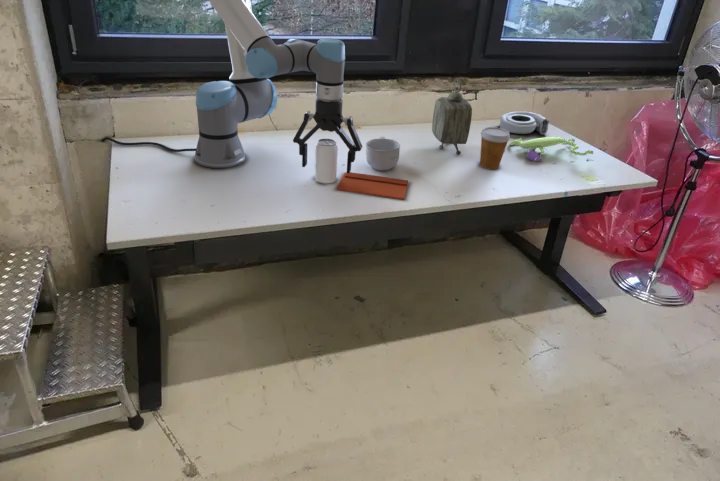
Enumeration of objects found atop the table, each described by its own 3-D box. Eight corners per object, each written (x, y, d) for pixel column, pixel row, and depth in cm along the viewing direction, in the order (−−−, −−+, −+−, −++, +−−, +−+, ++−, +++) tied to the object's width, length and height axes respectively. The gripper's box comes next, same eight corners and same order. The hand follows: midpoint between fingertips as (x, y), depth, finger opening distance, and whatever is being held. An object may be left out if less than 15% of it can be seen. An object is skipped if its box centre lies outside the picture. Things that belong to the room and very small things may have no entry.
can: (320, 185, 159) (321, 147, 153) (311, 176, 164) (312, 139, 158) (339, 182, 162) (341, 144, 156) (330, 173, 167) (332, 137, 161)
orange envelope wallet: (336, 190, 157) (336, 187, 157) (344, 174, 168) (344, 171, 167) (403, 199, 155) (404, 196, 154) (408, 182, 165) (408, 180, 165)
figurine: (593, 167, 187) (598, 152, 184) (516, 161, 187) (520, 146, 184) (577, 147, 202) (581, 133, 200) (506, 142, 202) (509, 127, 200)
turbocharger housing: (492, 126, 221) (509, 139, 209) (494, 110, 218) (511, 123, 205) (530, 123, 224) (548, 135, 212) (532, 107, 221) (551, 119, 209)
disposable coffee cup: (506, 164, 184) (513, 130, 178) (500, 173, 176) (507, 138, 170) (478, 158, 187) (485, 124, 181) (471, 167, 179) (478, 132, 173)
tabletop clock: (464, 157, 186) (477, 85, 174) (439, 157, 185) (450, 84, 172) (452, 142, 199) (463, 73, 186) (428, 141, 197) (438, 72, 184)
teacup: (394, 175, 169) (397, 151, 165) (361, 170, 170) (363, 147, 166) (400, 159, 181) (403, 136, 177) (369, 155, 182) (371, 132, 178)
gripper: (282, 96, 149) (282, 167, 159) (370, 107, 145) (365, 179, 156) (290, 89, 155) (290, 158, 166) (375, 99, 152) (369, 169, 163)
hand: (326, 168), depth 161 cm, fingers open, 13 cm apart
